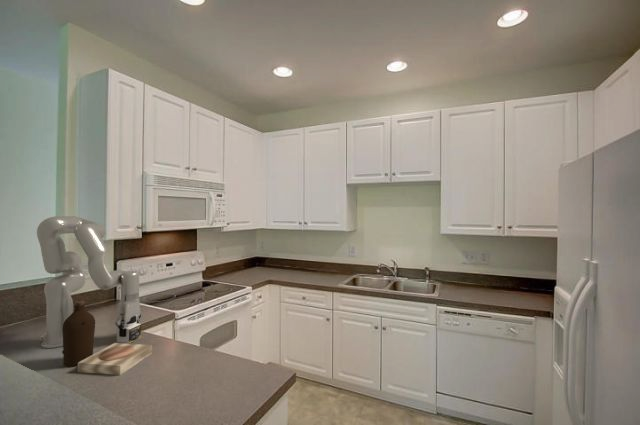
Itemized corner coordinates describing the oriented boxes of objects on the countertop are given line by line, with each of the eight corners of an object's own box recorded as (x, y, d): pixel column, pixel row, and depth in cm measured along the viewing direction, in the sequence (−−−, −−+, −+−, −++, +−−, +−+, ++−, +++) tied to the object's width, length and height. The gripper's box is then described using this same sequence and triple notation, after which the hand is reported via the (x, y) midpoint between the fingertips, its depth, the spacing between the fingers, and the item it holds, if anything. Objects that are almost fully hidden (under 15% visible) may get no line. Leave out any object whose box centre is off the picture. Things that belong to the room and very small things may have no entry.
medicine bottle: (129, 343, 139) (129, 318, 139) (116, 342, 140) (116, 317, 140) (141, 337, 146) (141, 313, 146) (128, 336, 147) (129, 312, 147)
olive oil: (101, 356, 127) (102, 298, 127) (78, 368, 116) (80, 305, 116) (78, 354, 128) (79, 297, 128) (54, 367, 117) (55, 304, 117)
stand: (77, 371, 114) (77, 361, 114) (114, 350, 132) (114, 341, 132) (120, 375, 112) (120, 364, 112) (152, 353, 130) (152, 344, 130)
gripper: (135, 292, 152) (135, 326, 152) (108, 301, 135) (107, 340, 135) (149, 292, 152) (148, 326, 151) (123, 302, 134) (122, 341, 134)
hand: (129, 332), depth 143 cm, fingers closed on medicine bottle, 7 cm apart
